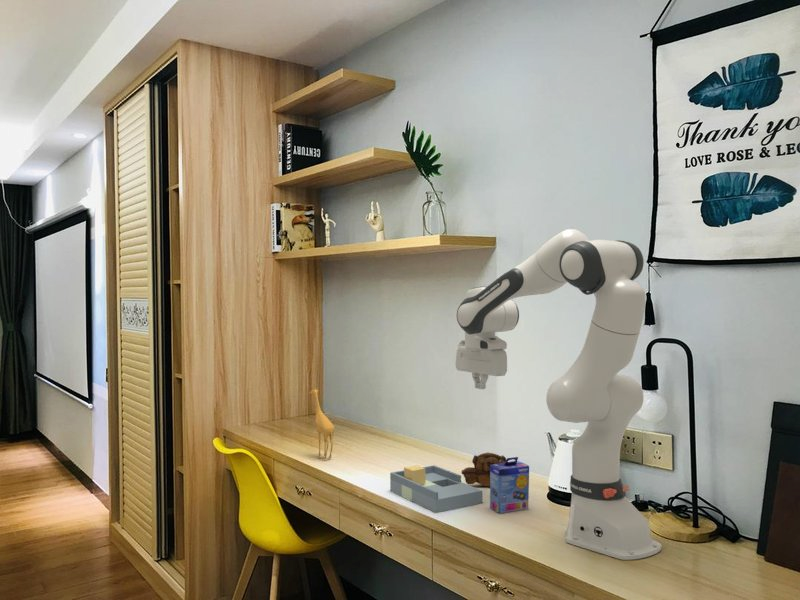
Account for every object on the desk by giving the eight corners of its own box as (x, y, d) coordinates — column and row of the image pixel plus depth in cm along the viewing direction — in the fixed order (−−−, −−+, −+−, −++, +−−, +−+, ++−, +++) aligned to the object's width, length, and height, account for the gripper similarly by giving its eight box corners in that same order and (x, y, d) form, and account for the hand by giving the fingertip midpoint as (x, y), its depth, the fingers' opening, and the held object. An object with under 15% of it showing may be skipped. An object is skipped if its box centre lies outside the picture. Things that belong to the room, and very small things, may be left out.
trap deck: (482, 502, 187) (482, 483, 187) (435, 512, 179) (435, 492, 179) (434, 482, 208) (434, 465, 208) (390, 490, 199) (390, 472, 199)
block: (425, 484, 193) (425, 468, 193) (412, 487, 191) (412, 470, 191) (417, 481, 197) (416, 465, 197) (404, 483, 195) (404, 467, 195)
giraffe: (305, 454, 246) (305, 387, 246) (316, 452, 249) (315, 386, 249) (327, 463, 233) (326, 392, 233) (338, 461, 236) (337, 391, 235)
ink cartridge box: (499, 514, 177) (499, 460, 177) (488, 508, 182) (488, 455, 182) (530, 509, 181) (530, 456, 181) (519, 503, 186) (518, 452, 186)
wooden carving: (464, 489, 200) (464, 456, 200) (460, 485, 205) (460, 453, 205) (516, 487, 203) (516, 454, 203) (512, 482, 207) (511, 450, 207)
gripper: (450, 340, 203) (450, 385, 203) (493, 344, 185) (493, 393, 185) (467, 339, 206) (467, 384, 206) (510, 343, 189) (511, 391, 189)
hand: (480, 388), depth 196 cm, fingers closed
